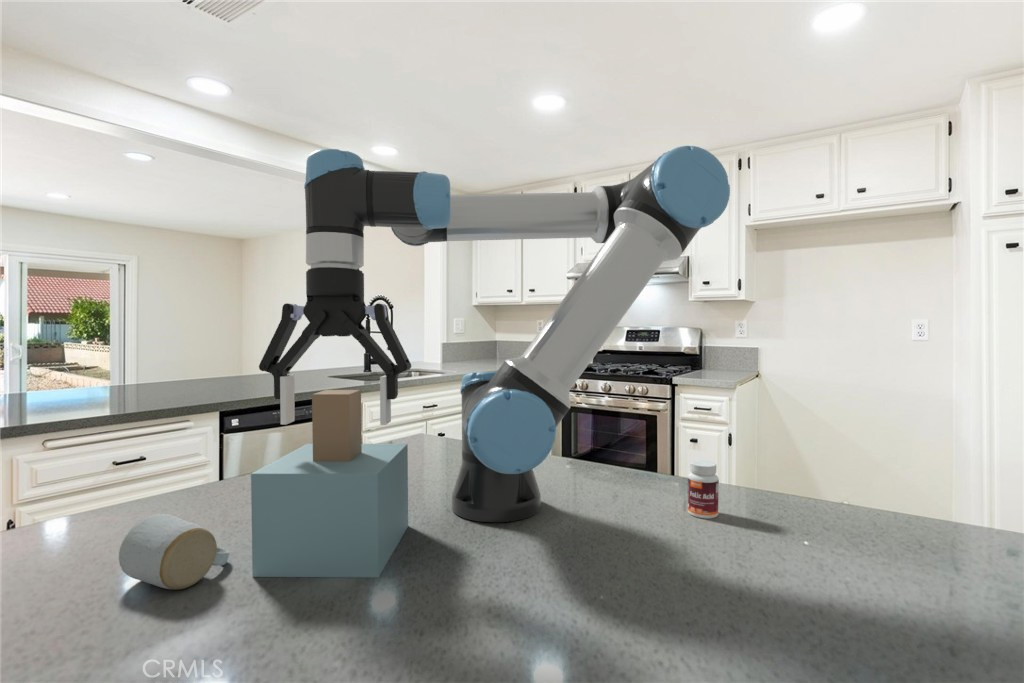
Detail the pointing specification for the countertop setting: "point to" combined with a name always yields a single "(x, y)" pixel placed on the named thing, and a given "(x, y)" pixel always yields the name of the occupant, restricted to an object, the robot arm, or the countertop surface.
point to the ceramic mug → (169, 552)
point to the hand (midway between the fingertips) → (336, 423)
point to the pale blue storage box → (330, 499)
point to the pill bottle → (703, 489)
